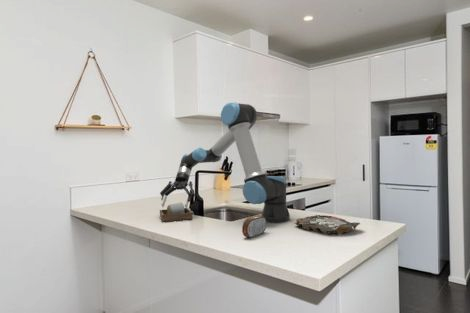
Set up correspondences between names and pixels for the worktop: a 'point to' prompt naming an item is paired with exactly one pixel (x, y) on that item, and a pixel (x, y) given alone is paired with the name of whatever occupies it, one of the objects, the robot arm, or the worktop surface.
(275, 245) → the worktop surface
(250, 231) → the tin
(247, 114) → the robot arm
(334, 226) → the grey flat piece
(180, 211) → the ceramic mug
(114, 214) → the worktop surface
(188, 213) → the walnut box
